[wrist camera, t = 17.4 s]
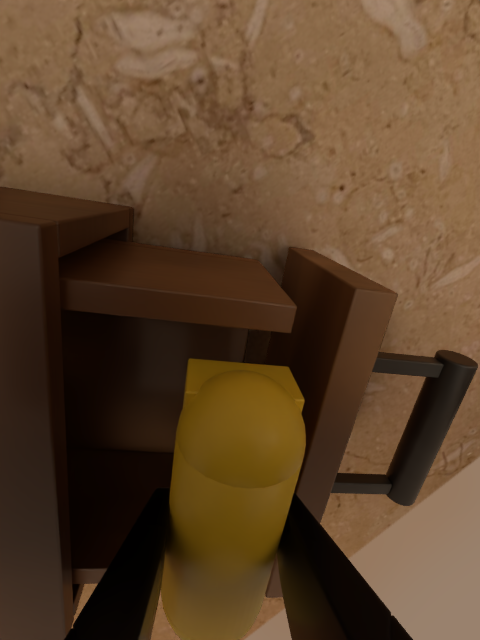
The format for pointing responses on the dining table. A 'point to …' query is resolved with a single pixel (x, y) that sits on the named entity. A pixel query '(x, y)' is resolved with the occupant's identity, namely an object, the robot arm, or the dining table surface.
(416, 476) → the drawer
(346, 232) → the dining table surface
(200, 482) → the yellow rounded block
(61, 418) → the cabinet
